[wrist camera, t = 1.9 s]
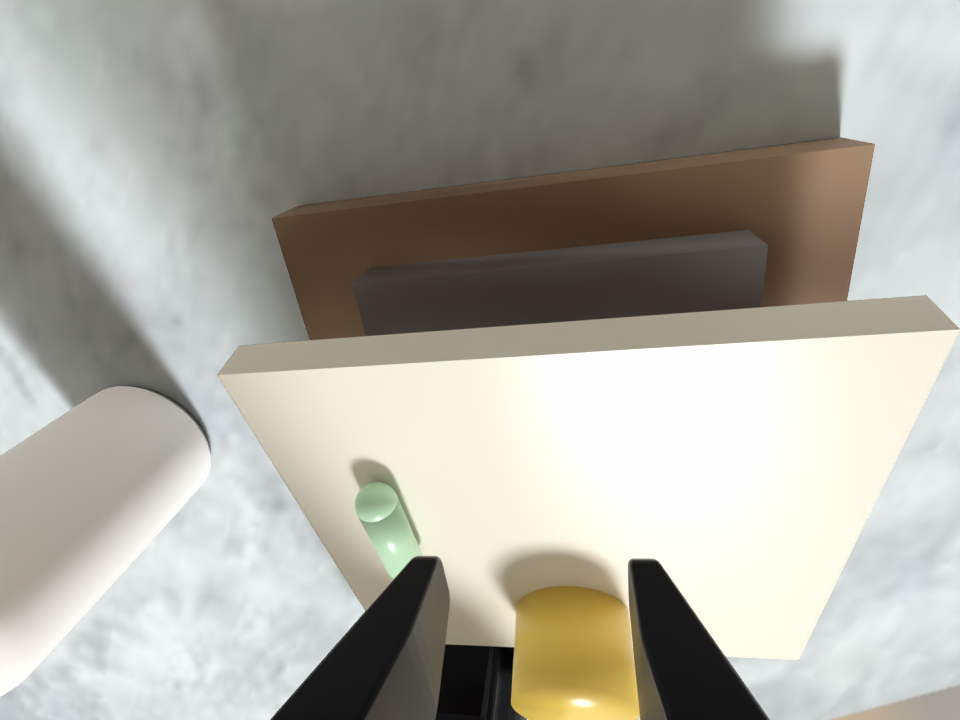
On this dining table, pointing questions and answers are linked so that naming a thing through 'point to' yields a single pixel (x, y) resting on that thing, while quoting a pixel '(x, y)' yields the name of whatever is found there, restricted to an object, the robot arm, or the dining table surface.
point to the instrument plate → (601, 470)
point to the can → (86, 511)
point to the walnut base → (585, 243)
